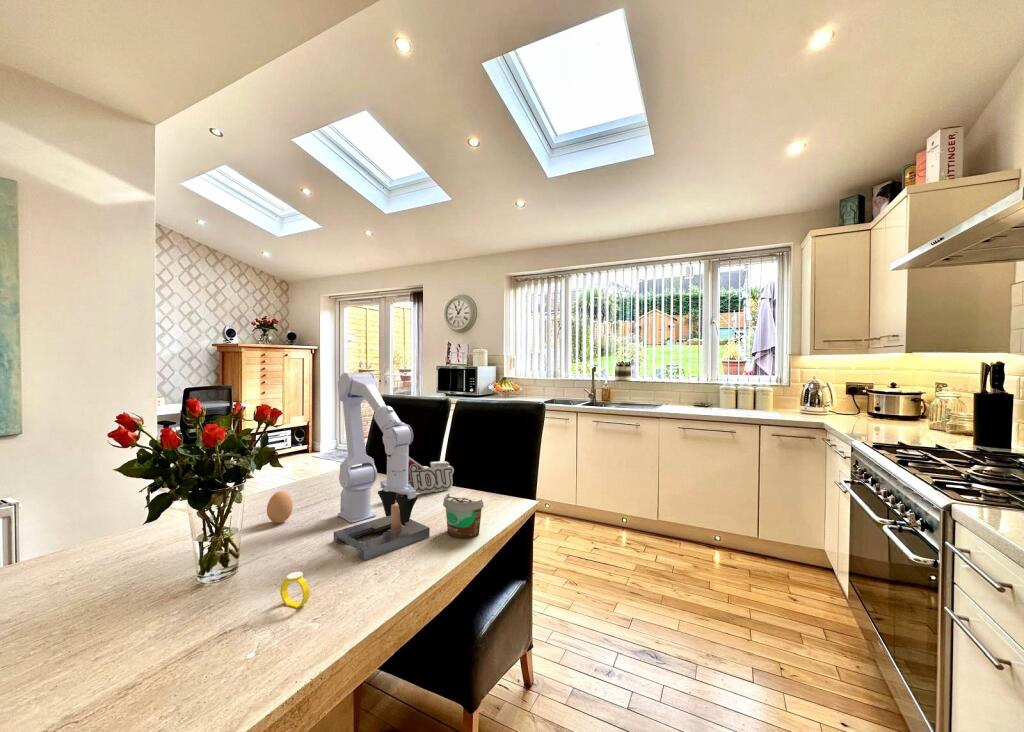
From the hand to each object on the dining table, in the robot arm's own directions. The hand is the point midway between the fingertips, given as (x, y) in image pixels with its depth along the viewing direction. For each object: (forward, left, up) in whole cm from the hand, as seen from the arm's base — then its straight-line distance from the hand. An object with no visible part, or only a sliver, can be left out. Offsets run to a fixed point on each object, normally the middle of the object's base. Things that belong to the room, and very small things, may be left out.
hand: (397, 518), depth 113 cm
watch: (+15, -32, -4) cm, 36 cm away
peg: (0, 0, -4) cm, 4 cm away
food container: (+13, +11, -4) cm, 18 cm away
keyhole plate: (0, -4, -4) cm, 6 cm away
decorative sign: (-24, +26, -5) cm, 36 cm away
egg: (-32, -19, -4) cm, 37 cm away
